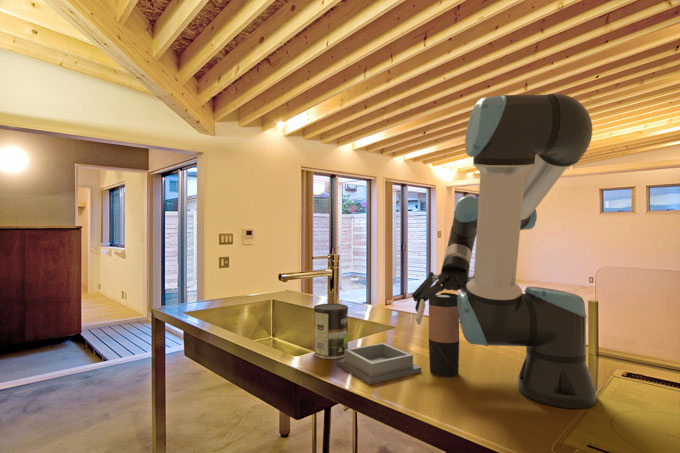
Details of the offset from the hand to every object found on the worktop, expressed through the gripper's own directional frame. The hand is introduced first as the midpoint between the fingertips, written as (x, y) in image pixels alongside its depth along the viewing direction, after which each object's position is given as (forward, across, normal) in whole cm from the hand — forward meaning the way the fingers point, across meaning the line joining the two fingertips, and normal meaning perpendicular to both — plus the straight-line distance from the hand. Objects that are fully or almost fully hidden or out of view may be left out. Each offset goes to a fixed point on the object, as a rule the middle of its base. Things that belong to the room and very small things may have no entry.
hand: (443, 325), depth 99 cm
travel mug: (+9, 0, -8) cm, 12 cm away
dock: (+13, +16, -4) cm, 21 cm away
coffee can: (+10, +33, -7) cm, 35 cm away
